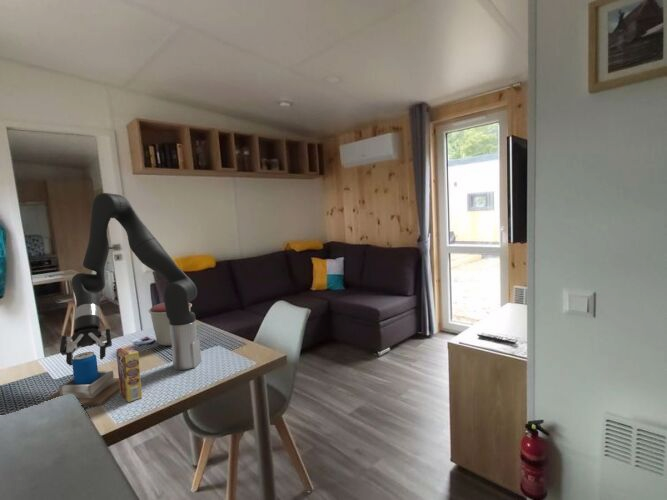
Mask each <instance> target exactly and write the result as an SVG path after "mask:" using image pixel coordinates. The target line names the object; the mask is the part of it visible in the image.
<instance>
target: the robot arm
mask: <svg viewBox="0 0 667 500" xmlns="http://www.w3.org/2000/svg"><path fill="white" fill-rule="evenodd" d="M111 219H115V220H116V221H117V222H118V224H120V226H122V228H123V229H124V231H125V232H126V235H127V240H128V245H129V249H131V251H132V253H133V254H134V255H135V256H136V257H137V259H138V260H139V261H140V262H141V263H142V264H143V265H144V266H146V267H147V268H149V269H150V270H152V271H153V272H155V273H157V274H158V275H160V276H161V277H163V279H164V280H166V282H167V283H168V284H167V285H166V286H165V288H164V291H163V301H164V302H163V303H165V309H166V315H167V318H168V319H169V323H170V335H171V345H170V346H171V354H172V355H171V356H172V365H173V367H172V368H173V369H174V370H176V371H182V370H185V371H186V370H188V369H194V368H196V367H197V366H198V365H199V364H200V363H201V362H202V354H201V340H200V338H199V337H198V333H197V332H198V331H197V330H198V329H197V318H196V313H195V312H193V311H191V309H190V310H189V305H188V303H190V302H193V300H195V299H196V297H197V295H198V288H197V286H196V284H195V282H194V281H193V280H192V279H191V278H190V277H189V276H188V275H187V274H186V273H185V272H184V271H183V270H182V269H181V268H180V266H179V265H177V263H176V262H175V260H173V259H172V257H171V256H170V255H169V254H168V253H167V251H166V250H165V248H164V247H163V246H162V244H161V243H160V242H159V241H158V240H157V238H156V237H155V236H154V235H153V233H152V232H151V230H149V228H148V227H147V226H146V225H145V223H143V221H142V220H141V219H140V217H139V216H138V214H137V212H136V211H135V209H134V208H133V206H132V204H131V203H130V201H129V200H128V199H127V198H126V197H124V196H123V195H121V194H118V193H117V194H116V193H109V192H102V193H99V194H97V195H96V196H95V197H94V199H93V201H92V206H91V218H90V225H89V226H90V228H89V229H90V230H89V238H88V244H87V248H86V251H85V255H84V258H83V261H82V266H83V267H84V268H85V269H87V270H90V271H93V272H95V274H93V273H84V272H79V273H76V274H74V275H73V277H72V278H71V280H70V281H71V284H70V285H71V289H72V292H73V294H74V296H75V312H74V319H73V320H74V321H73V322H74V324H73V334H72V336H71V335H70V336H66V335H63V336H61V342H60V347H59V353H60V354H61V356H66V357H65V362H66V364H67V365H68V366H69V367H70V366H72V360H73V357H74V353H75V352H76V351H78V350H79V348H85V347H87V346H88V347H89V346H93V345H95V346H97V347H99V359H100V360H104V358H106V351H107V350H106V349H107V348H108V347H112V346H113V343H112V342H113V341H112V333H111V329H110V328H106V329H105V330H101V311H100V296H99V295H98V293H100V292H102V291H103V290H104V289H105V286H106V280H105V268H106V263H107V259H108V257H109V251H110V243H109V239H108V226H109V223H110V221H111ZM102 336H104V338H106V341H105V342H103V341H102V340H101V339H100V338H101V337H102ZM71 341H73V342H72V343H71ZM70 343H71V344H70ZM68 344H70V346H69V347H68ZM67 348H68V349H67Z"/></svg>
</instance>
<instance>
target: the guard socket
mask: <svg viewBox="0 0 667 500" xmlns="http://www.w3.org/2000/svg"><path fill="white" fill-rule="evenodd" d="M98 376H99V379H98V380H96V381H95V382H93V383H92V384H87V385H75V382H74V377H72V378H71V379H69V380H68V381H66V382H64V383H63V384H61V385H60V386H58V391H57V392H55V393H53V394H51V395H50V396H49V397H47V398H45V399H44V400H42V401H41V402H44V401H48V400H51V399H53V398H56V397H59V396H63V395H67V394H73V395H75V396H76V398H77V399H78V400H79V402H80V403H81V404H82V405H83V406H82V407H89V406H90V407H94V406H95V407H96V406H99V407H100V406H103V405H104V404H106V403H107V402H109V400H110V399H111V398H113V397H114V396H115V395H117V394H118V393H120V385H119V377H114V376H115V375H114V370H98ZM41 402H39V403H41Z"/></svg>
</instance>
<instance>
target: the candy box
mask: <svg viewBox="0 0 667 500" xmlns="http://www.w3.org/2000/svg"><path fill="white" fill-rule="evenodd" d="M116 360H117V361H116V362H117V370H118V372H117V373H118V378H119V385H120V391H119V393H120V395H121V396H122V397H123V398H124V399H125V400H126V402H128V403H131V402H133V401H136V400H139V399H142V397H143V396H142V395H143V394H142V393H143V392H142V383H141V370H140V369H141V368H140V354H139V351H138V350H136V349H135V348H133V347H132V346H130V345H126V346H122V347H120V348H117V349H116Z"/></svg>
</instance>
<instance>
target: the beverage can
mask: <svg viewBox="0 0 667 500" xmlns="http://www.w3.org/2000/svg"><path fill="white" fill-rule="evenodd" d="M71 366H72V373H73V378H74V382H75V385H87V384H92V383H93V382H95V381H96V380H98V379H99V376H98V371H99V369H98V368H99V367H98V360H97V355H96V354H95V352H94V351H86V352H80V353H77V354H76V355H73V360H72V365H71Z"/></svg>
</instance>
